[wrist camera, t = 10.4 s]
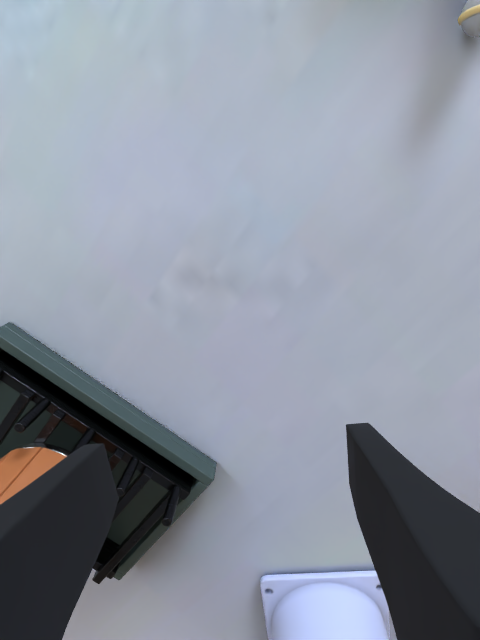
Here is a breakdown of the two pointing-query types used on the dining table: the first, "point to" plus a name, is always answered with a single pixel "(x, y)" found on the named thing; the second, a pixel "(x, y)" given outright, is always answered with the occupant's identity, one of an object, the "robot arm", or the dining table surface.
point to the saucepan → (26, 466)
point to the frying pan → (471, 18)
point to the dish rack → (94, 428)
